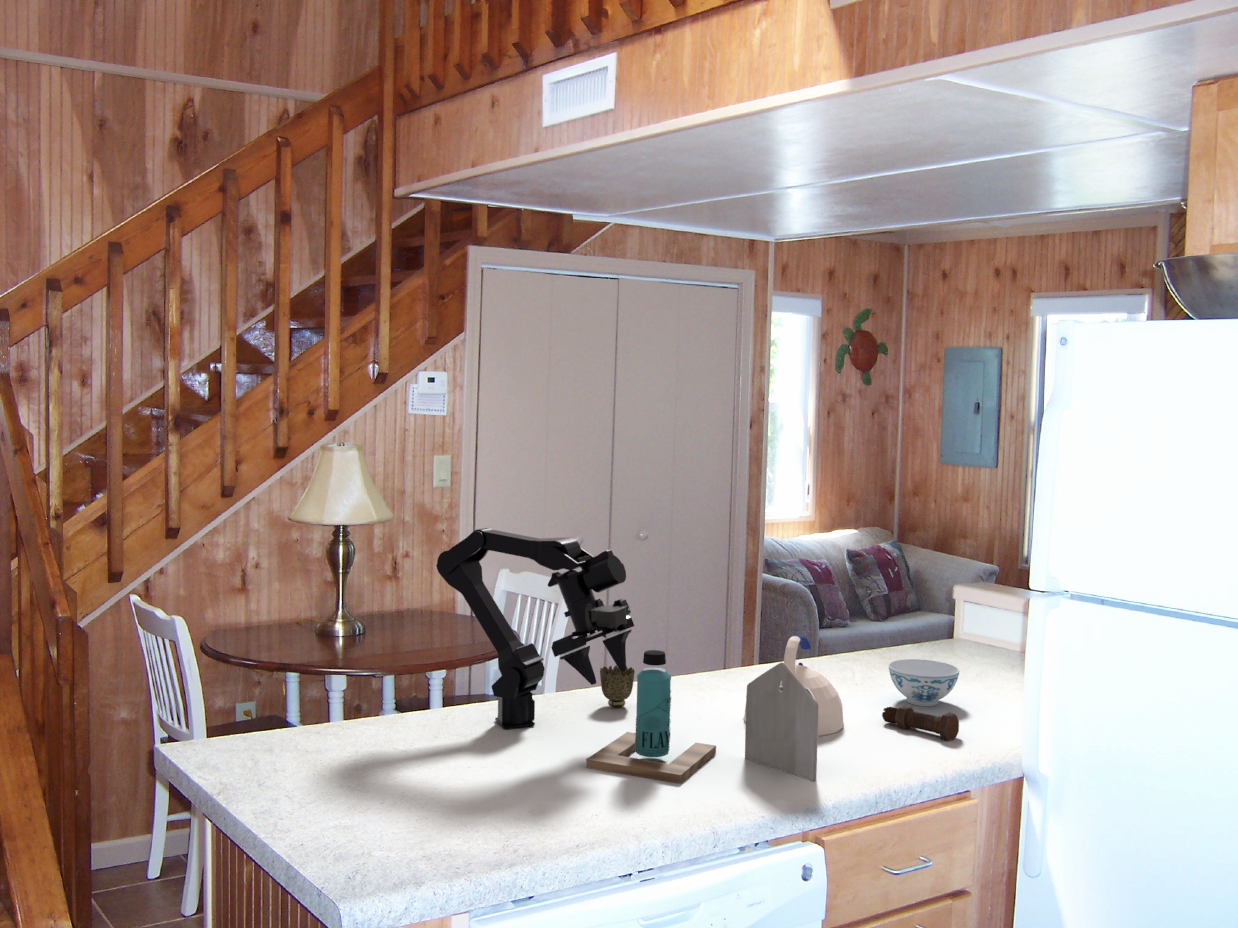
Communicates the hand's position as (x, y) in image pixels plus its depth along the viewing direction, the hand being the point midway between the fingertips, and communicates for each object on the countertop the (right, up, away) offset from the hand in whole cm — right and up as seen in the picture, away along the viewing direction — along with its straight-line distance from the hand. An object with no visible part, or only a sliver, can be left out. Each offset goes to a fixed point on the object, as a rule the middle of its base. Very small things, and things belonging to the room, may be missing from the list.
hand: (609, 677), depth 216 cm
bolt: (+62, -13, +11) cm, 64 cm away
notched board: (+8, -13, -10) cm, 18 cm away
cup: (+1, -11, +24) cm, 27 cm away
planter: (+33, -14, -11) cm, 38 cm away
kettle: (+37, -12, +15) cm, 42 cm away
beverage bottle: (+8, -13, -10) cm, 18 cm away
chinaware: (+68, -12, +32) cm, 77 cm away
